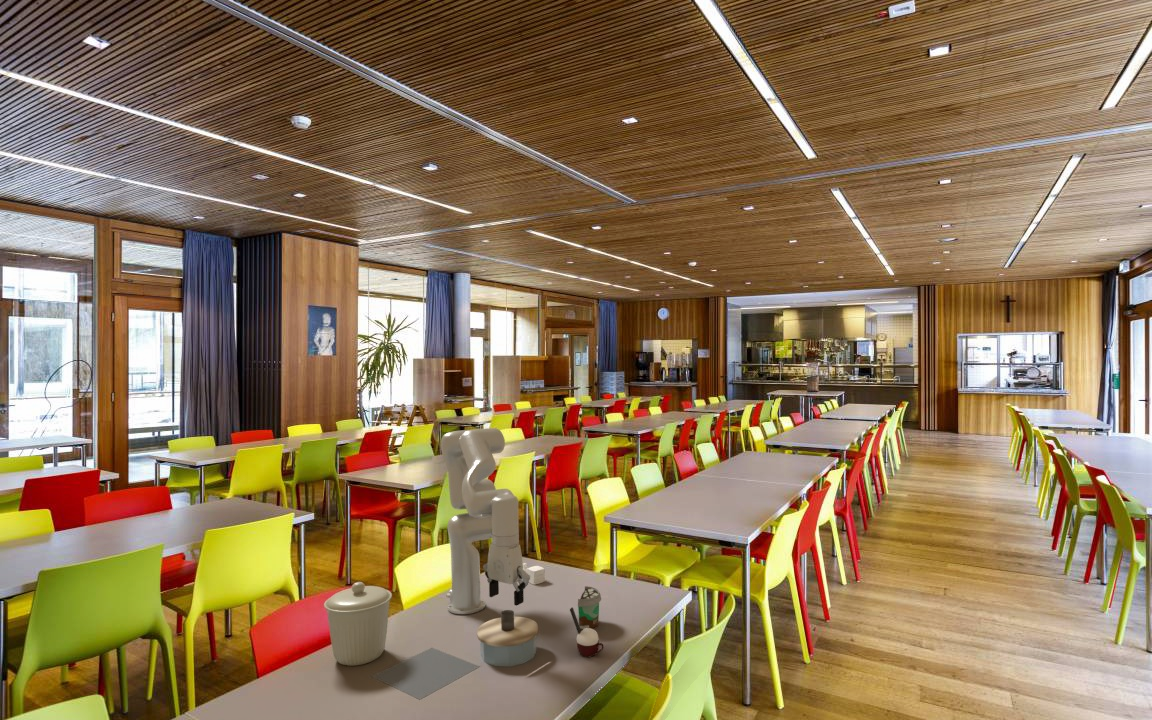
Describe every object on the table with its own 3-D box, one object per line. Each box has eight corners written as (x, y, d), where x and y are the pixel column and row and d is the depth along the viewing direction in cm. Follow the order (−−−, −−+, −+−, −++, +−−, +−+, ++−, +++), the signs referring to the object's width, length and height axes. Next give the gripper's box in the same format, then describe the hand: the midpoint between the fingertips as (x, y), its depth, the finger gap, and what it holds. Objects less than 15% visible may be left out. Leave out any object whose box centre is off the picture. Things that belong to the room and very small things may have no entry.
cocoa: (606, 655, 169) (607, 612, 169) (591, 663, 164) (592, 618, 164) (581, 644, 175) (582, 602, 176) (566, 651, 171) (567, 608, 171)
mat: (371, 677, 159) (371, 676, 159) (431, 648, 175) (431, 647, 175) (419, 701, 147) (419, 699, 147) (480, 667, 163) (480, 666, 163)
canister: (367, 676, 160) (365, 596, 160) (310, 669, 165) (309, 591, 166) (405, 646, 177) (404, 574, 178) (353, 640, 182) (351, 570, 183)
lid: (464, 636, 169) (464, 616, 169) (506, 616, 182) (506, 597, 183) (509, 652, 159) (508, 630, 159) (550, 629, 172) (549, 608, 172)
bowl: (470, 657, 169) (469, 636, 169) (507, 638, 181) (507, 618, 181) (509, 672, 160) (508, 649, 160) (546, 651, 172) (545, 629, 172)
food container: (598, 634, 182) (597, 600, 182) (578, 633, 183) (577, 599, 183) (604, 617, 194) (604, 586, 194) (586, 616, 195) (585, 585, 195)
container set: (545, 582, 229) (544, 568, 229) (533, 586, 225) (533, 571, 226) (517, 570, 244) (516, 556, 245) (506, 572, 241) (505, 559, 241)
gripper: (474, 537, 173) (475, 596, 174) (518, 548, 163) (519, 611, 163) (493, 531, 179) (494, 588, 180) (537, 541, 169) (538, 602, 169)
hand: (506, 599), depth 171 cm, fingers open, 9 cm apart
